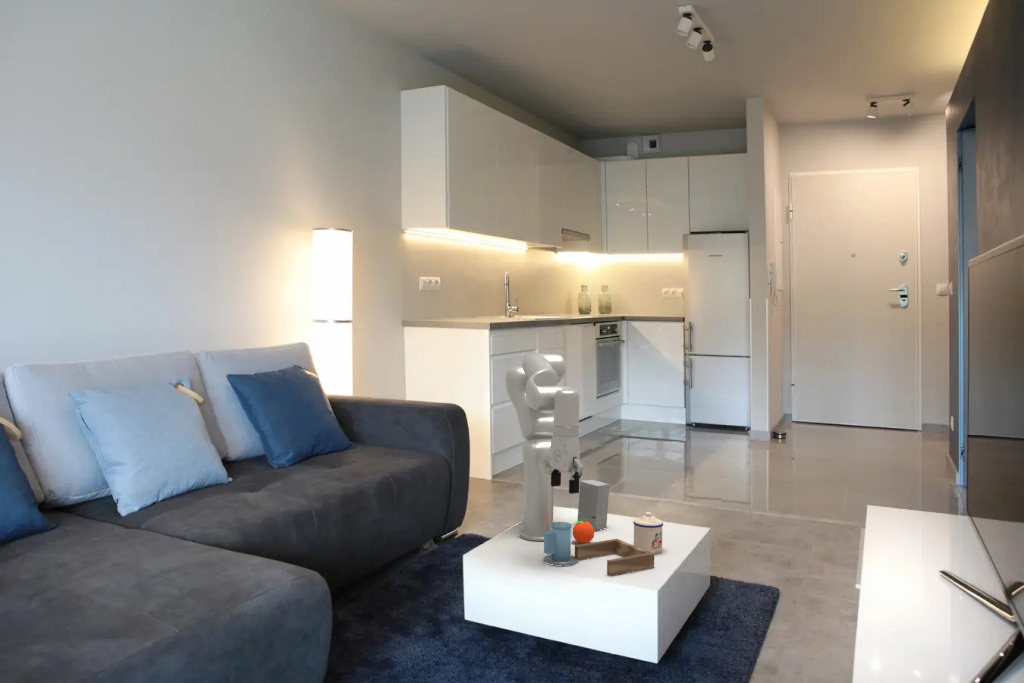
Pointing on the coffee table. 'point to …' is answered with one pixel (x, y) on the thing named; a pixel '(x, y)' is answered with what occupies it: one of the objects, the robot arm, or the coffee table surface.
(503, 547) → the coffee table surface
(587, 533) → the clementine
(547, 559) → the coaster
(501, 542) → the coffee table surface
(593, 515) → the skincare box
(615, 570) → the open wooden frame
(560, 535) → the jug
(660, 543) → the teacup with lid
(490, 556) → the coffee table surface
